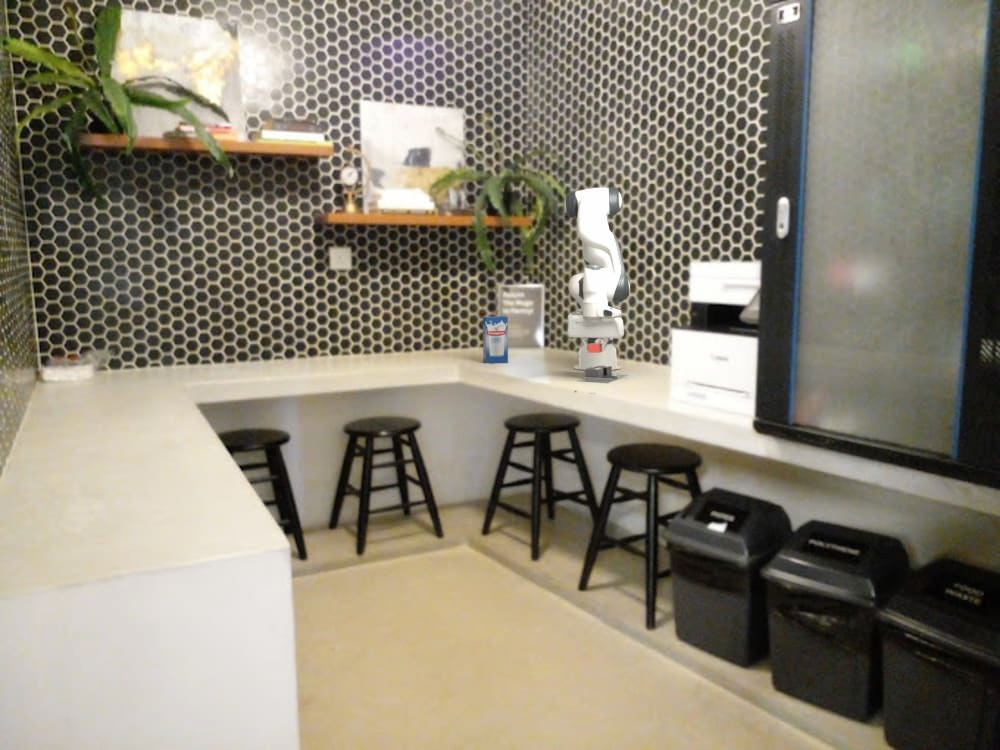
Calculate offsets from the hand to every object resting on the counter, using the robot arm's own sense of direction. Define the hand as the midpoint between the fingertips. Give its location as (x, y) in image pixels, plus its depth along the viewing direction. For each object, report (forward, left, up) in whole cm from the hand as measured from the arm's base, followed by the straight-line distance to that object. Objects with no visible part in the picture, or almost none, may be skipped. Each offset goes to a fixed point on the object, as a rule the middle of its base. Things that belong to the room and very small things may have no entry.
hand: (595, 350), depth 266 cm
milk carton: (-62, -37, -12) cm, 73 cm away
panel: (-2, +3, -12) cm, 12 cm away
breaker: (0, 0, -10) cm, 10 cm away
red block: (0, 0, -1) cm, 1 cm away
